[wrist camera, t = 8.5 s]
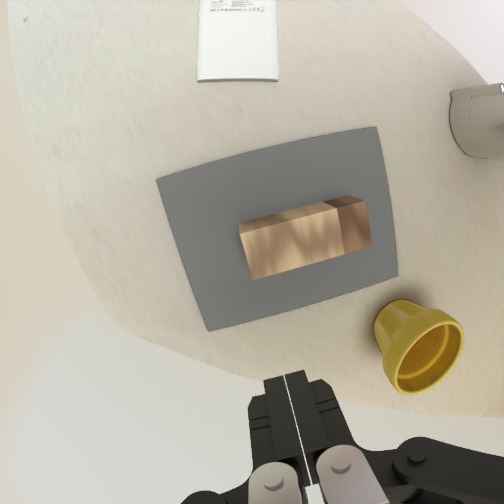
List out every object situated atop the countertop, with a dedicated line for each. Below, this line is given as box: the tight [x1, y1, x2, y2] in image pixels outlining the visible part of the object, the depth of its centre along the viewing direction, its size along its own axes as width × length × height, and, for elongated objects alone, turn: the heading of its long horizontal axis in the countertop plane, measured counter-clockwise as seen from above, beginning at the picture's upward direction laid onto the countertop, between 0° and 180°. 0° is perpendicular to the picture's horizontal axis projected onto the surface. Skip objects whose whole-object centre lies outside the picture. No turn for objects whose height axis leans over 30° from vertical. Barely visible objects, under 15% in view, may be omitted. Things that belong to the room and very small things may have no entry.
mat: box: [156, 127, 399, 332], centre depth 32 cm, size 18×24×1 cm
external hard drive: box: [197, 0, 279, 82], centre depth 25 cm, size 2×8×12 cm
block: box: [238, 195, 372, 280], centre depth 29 cm, size 4×4×12 cm
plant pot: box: [374, 300, 464, 395], centre depth 32 cm, size 10×10×10 cm
